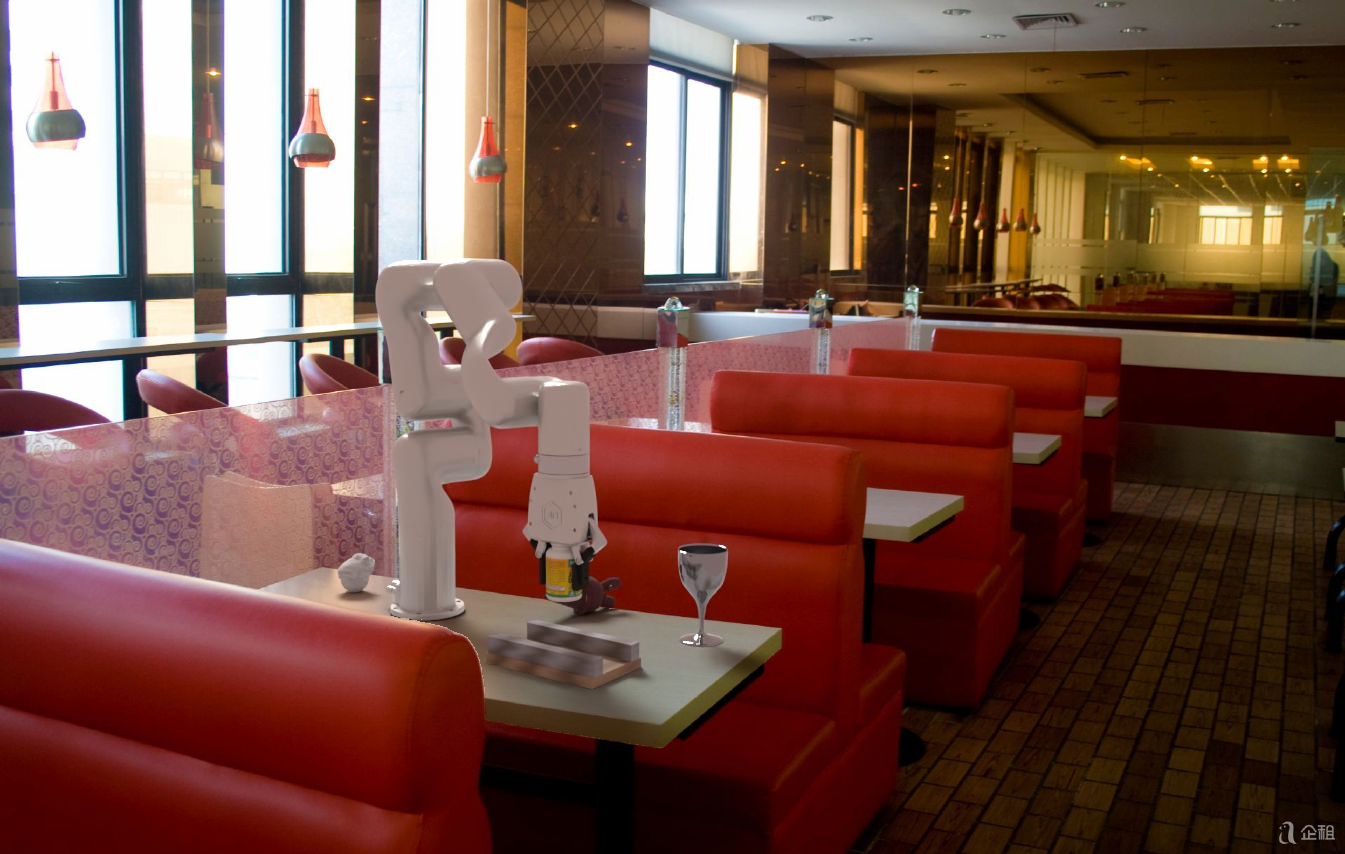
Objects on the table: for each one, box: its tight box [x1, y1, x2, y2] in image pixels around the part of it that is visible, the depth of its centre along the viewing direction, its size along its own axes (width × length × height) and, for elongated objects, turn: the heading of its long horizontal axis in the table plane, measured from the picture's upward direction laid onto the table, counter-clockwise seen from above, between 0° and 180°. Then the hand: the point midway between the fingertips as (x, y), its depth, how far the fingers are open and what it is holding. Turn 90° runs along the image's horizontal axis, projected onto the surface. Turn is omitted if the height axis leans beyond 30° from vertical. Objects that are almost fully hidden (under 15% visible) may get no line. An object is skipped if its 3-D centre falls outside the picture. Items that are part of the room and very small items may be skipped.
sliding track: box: [485, 619, 642, 690], centre depth 179 cm, size 20×12×4 cm, turn 57°
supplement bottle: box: [545, 543, 582, 603], centre depth 177 cm, size 5×5×10 cm
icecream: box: [542, 575, 622, 616], centre depth 207 cm, size 7×7×15 cm
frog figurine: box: [337, 552, 376, 593], centre depth 219 cm, size 6×7×7 cm
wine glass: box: [677, 542, 729, 648], centre depth 192 cm, size 8×8×15 cm
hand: (563, 584), depth 178 cm, fingers closed on supplement bottle, 5 cm apart
